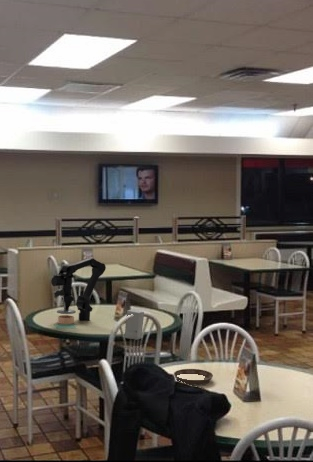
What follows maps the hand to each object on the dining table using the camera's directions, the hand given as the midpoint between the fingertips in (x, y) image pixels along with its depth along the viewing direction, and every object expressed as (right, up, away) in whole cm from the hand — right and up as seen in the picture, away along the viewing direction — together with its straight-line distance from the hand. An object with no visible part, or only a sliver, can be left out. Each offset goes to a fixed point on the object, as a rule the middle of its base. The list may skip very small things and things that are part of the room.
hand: (66, 309), depth 390 cm
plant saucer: (+73, -19, -108) cm, 132 cm away
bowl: (0, -8, 0) cm, 8 cm away
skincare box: (+43, -12, -31) cm, 55 cm away
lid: (0, -2, 0) cm, 2 cm away
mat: (+1, -9, -12) cm, 15 cm away
